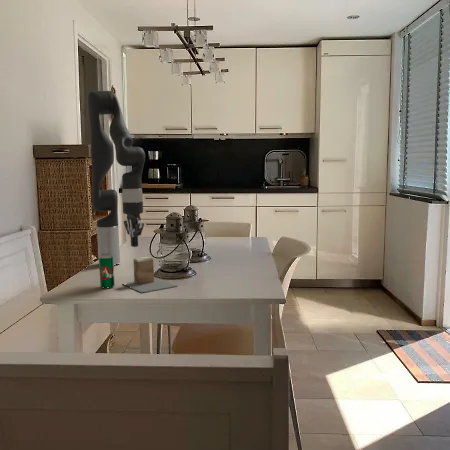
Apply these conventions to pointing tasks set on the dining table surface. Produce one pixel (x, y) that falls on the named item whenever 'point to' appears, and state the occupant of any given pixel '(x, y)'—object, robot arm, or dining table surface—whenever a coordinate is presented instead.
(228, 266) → the dining table surface
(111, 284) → the soda can
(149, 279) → the block
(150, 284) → the mat
